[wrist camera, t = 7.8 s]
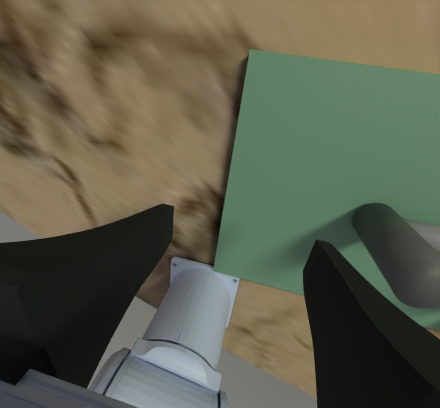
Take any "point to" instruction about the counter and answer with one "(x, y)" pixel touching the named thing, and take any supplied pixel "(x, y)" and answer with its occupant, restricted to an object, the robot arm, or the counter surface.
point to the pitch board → (326, 166)
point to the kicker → (402, 253)
